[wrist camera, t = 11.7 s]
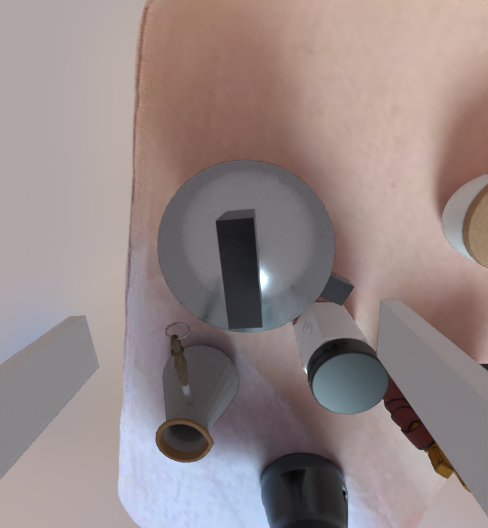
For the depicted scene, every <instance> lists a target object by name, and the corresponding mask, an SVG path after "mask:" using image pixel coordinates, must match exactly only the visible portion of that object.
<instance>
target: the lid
mask: <svg viewBox="0 0 488 528" xmlns="http://www.w3.org/2000/svg"><path fill="white" fill-rule="evenodd" d="M334 254H335V240H334V232H333V227H332V223H331V221H330V218H329V215H328V212H327V211H326V209H325V207H324V205H323V203H322V201H321V200H320V199H319V197H318V196H317V194H316V193H315V192H314V191H313V190H312V189H311V188H310V187H309V186H308V185H307V183H305V182H304V181H303V180H301V179H300V178H299V177H298V176H296V175H295V174H293V173H291V172H289V171H288V170H286V169H284V168H281V167H279V166H276V165H274V164H270V163H266V162H262V161H254V160H235V161H229V162H223V163H220V164H217V165H214V166H211V167H209V168H207V169H205V170H203V171H201V172H199V173H198V174H196V175H195V176H193V177H192V178H190V179H189V180H188V181H187V182H186V183H185V184H184V185H182V186H181V187H180V189H179V190H178V191H177V192H176V193H175V195H174V196H173V197H172V199H171V200H170V202H169V204H168V205H167V207H166V210H165V212H164V214H163V216H162V220H161V223H160V227H159V233H158V258H159V263H160V267H161V271H162V274H163V276H164V279H165V281H166V283H167V285H168V287H169V289H170V290H171V292H172V293H173V295H174V296H175V297H176V299H177V300H178V301H179V302H180V303H181V304H182V305H183V306H184V308H186V309H187V310H188V311H189V312H190V313H192V314H193V315H194V316H196V317H197V318H199V319H200V320H202V321H204V322H206V323H208V324H210V325H213V326H215V327H218V328H221V329H225V330H229V331H235V332H259V331H265V330H270V329H273V328H276V327H279V326H282V325H284V324H286V323H288V322H290V321H292V320H294V319H295V318H297V317H298V316H300V315H301V314H302V313H304V312H305V311H306V310H307V309H308V308H309V307H310V306H311V305H312V304H313V303H314V302H315V301H316V300H317V298H318V297H319V295H320V294H321V292H322V291H323V289H324V287H325V285H326V284H327V282H328V279H329V276H330V274H331V271H332V267H333V262H334Z"/></svg>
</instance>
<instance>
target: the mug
mask: <svg viewBox="0 0 488 528" xmlns="http://www.w3.org/2000/svg"><path fill="white" fill-rule="evenodd" d="M383 399H384V405H385V408H386V409H387V410H388V411H389V412H390V413H391V418H392V420H393V421H394V422H395V423H396V424H397V425H398V426H399V427H401V431H402V432H403V434H404V435H405V436H406V437H407V438H408V439H409V440H410V442H411V443H412V444H413V445H414V446H415V447H416V448H418V449H419V450H424V451H425V452H426V453H428V456H429V458H430V460H431V463H432V465H433V467H434V470H435V471H436V473H438V474H440V475H441V476H443V477H445V478H447V479H448V478H449V477H450V475H451V474H452V473H453V472H454V473H455V475H456V476H457V477H458V479H459V480H460V482H461V484H462V485H463V487H464V488H465V489H466V490H467V491H469V492H470V490H469V489H468V487H467V486H466V485H465V483H464V482H463V480H462V479H461V477H460V476H459V474H458V473H457V472H456V470H455V469H454V467H453V466H452V464H451V463H450V461H449V460H448V459H447V457H446V456H445V454H444V453H443V451H442V450H441V448H440V447H439V446H438V444H437V443H436V441H435V440H434V438H433V437H432V435H431V434H430V433H429V431H428V430H427V428H426V427H425V425H424V424H423V422H422V421H421V419H420V418H419V417H418V415H417V414H416V412H415V411H414V409H413V408H412V406H411V405H410V404H409V402H408V401H407V399H406V398H405V396H404V395H403V393H402V392H401V391H400V389H399V388H398V386H397V385H396V383H395V382H394V380H393V379H392V378H391V376H390V375H389V387H388V390H387V392H386V394H385V396H384V397H383ZM470 493H471V492H470Z"/></svg>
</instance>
